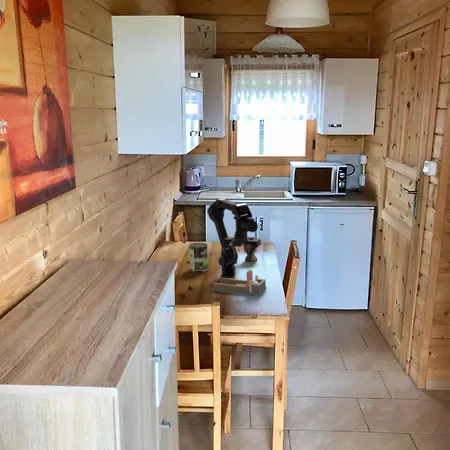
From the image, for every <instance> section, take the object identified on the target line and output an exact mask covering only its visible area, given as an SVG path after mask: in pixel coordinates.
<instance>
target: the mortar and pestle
mask: <svg viewBox="0 0 450 450" xmlns="http://www.w3.org/2000/svg"><path fill="white" fill-rule="evenodd" d="M247 237H248V241H251V240H253V239H258V238H257V237H256V236H247ZM250 247H251V246H250V244H242V248H243V250H244V253H245V254H246V256H245V258H244V261H245V262H248V263H251V262H257V261H258V257H257V256H256V255H255V254H256V253H257V251H258V247H257V248H256V249H255V251H254V254H253V257H252V259H250Z"/></svg>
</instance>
